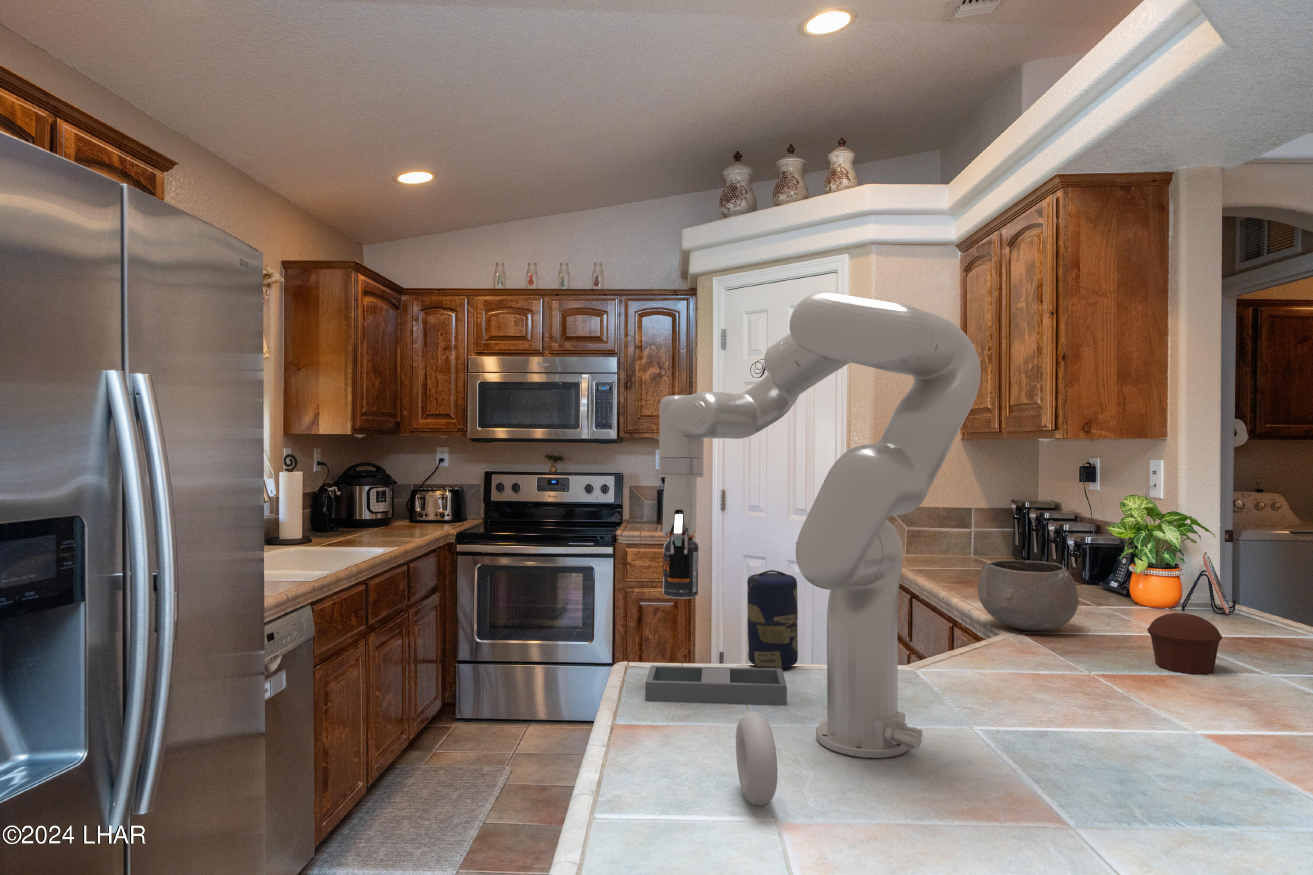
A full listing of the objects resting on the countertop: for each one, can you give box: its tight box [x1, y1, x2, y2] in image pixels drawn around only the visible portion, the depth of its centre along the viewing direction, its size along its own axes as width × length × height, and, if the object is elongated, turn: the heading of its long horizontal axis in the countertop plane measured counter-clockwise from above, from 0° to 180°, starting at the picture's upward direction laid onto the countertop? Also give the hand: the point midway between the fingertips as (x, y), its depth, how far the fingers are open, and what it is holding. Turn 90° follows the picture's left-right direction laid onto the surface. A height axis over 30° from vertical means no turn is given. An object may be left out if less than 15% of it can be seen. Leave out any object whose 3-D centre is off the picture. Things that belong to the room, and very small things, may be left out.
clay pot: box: [976, 559, 1080, 632], centre depth 176 cm, size 21×21×15 cm
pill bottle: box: [662, 528, 699, 599], centre depth 128 cm, size 6×6×11 cm
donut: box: [735, 711, 778, 807], centre depth 87 cm, size 10×4×10 cm, turn 5°
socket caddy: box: [644, 664, 788, 706], centre depth 127 cm, size 23×10×3 cm, turn 85°
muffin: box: [1147, 612, 1223, 676], centre depth 143 cm, size 12×11×10 cm
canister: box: [746, 569, 799, 669], centre depth 144 cm, size 10×10×18 cm
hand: (680, 574), depth 128 cm, fingers closed on pill bottle, 6 cm apart
